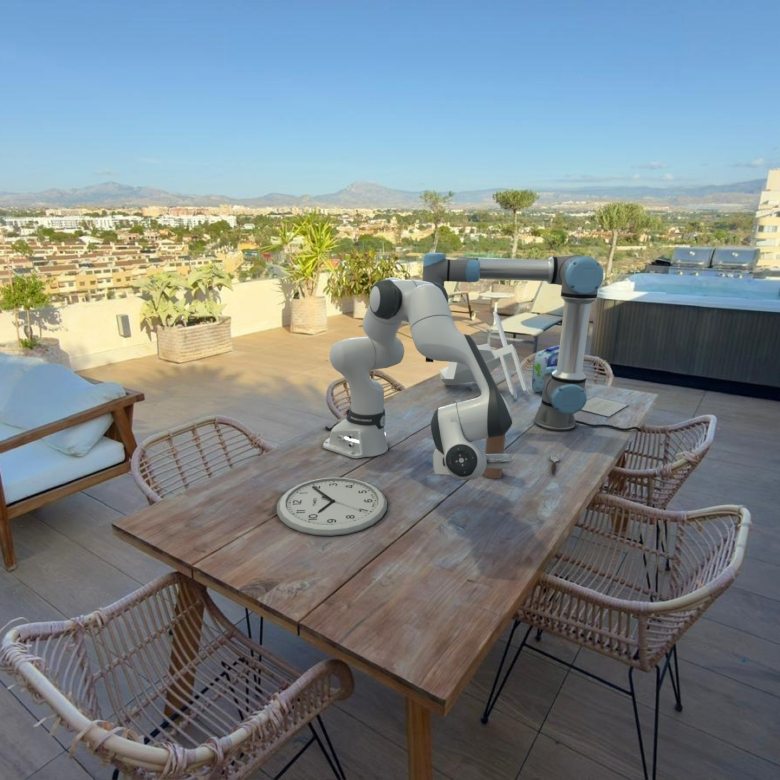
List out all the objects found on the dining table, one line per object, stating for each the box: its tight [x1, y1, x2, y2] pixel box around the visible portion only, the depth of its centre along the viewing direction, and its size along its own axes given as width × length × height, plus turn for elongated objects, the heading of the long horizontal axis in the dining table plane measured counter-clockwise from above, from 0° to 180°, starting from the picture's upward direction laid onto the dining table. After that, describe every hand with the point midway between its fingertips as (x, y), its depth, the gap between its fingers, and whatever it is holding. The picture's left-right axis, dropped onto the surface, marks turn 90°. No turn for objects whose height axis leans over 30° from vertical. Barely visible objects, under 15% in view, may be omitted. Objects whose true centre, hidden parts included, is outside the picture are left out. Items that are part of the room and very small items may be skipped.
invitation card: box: [580, 396, 629, 418], centre depth 226 cm, size 21×1×15 cm
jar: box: [483, 432, 507, 480], centre depth 160 cm, size 6×6×17 cm
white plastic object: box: [438, 310, 531, 400], centre depth 245 cm, size 37×45×31 cm
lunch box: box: [531, 344, 560, 393], centre depth 245 cm, size 26×11×21 cm, turn 134°
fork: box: [550, 450, 560, 475], centre depth 169 cm, size 3×16×2 cm, turn 160°
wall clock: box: [276, 476, 388, 537], centre depth 142 cm, size 30×2×30 cm
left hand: (474, 462), depth 142 cm, fingers open, 8 cm apart
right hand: (430, 357), depth 190 cm, fingers open, 13 cm apart
